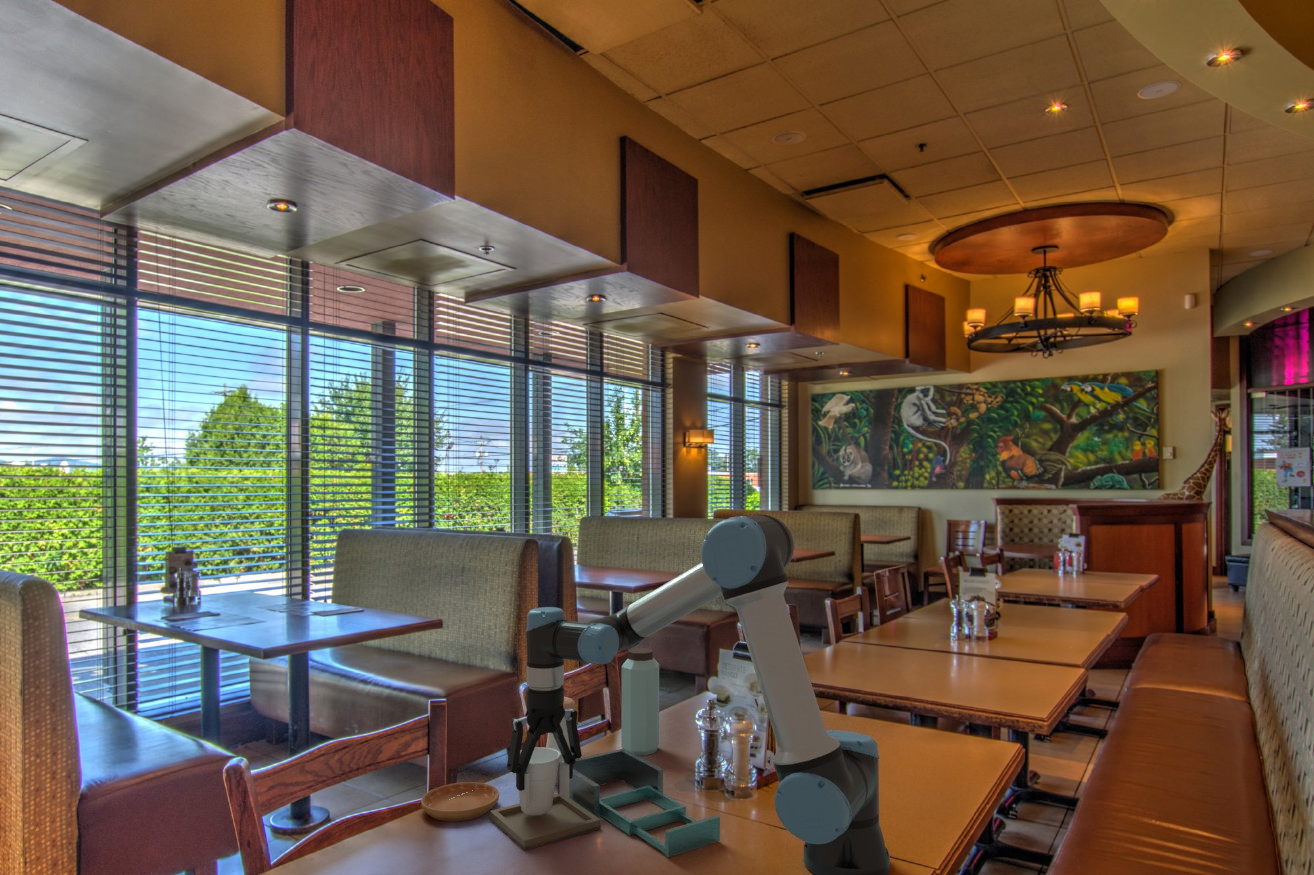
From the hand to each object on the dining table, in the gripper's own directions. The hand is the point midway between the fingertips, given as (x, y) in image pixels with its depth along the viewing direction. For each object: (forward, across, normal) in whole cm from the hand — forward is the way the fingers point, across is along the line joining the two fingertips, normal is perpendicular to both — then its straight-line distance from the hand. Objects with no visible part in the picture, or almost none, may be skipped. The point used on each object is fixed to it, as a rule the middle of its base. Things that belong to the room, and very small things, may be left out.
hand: (544, 800), depth 163 cm
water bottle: (+5, -40, -26) cm, 48 cm away
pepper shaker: (+5, -14, -20) cm, 25 cm away
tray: (+5, 0, 0) cm, 5 cm away
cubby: (+5, -18, -4) cm, 19 cm away
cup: (+3, 0, -3) cm, 4 cm away
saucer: (+5, +11, -17) cm, 21 cm away
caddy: (+5, -18, +13) cm, 23 cm away
